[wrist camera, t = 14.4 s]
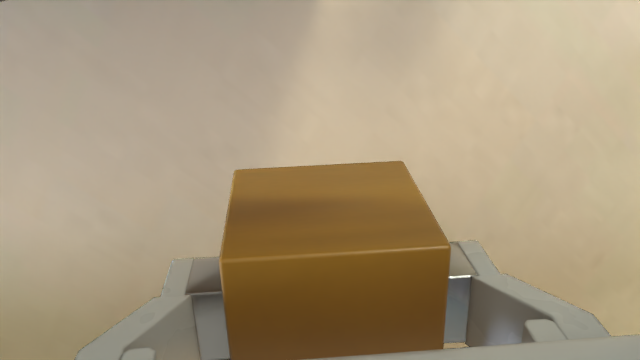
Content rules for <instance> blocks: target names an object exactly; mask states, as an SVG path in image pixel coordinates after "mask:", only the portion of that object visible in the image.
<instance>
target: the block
mask: <svg viewBox="0 0 640 360" xmlns="http://www.w3.org/2000/svg"><path fill="white" fill-rule="evenodd" d="M450 257H451V246H450V244H449V242H448V240H447V238H446V237H445V235H444V233H443V231H442V229H441V228H440V226H439V224H438V222H437V221H436V219H435V217H434V215H433V214H432V212H431V210H430V208H429V207H428V205H427V203H426V201H425V200H424V198H423V196H422V194H421V192H420V191H419V189H418V187H417V185H416V184H415V182H414V180H413V178H412V177H411V175H410V173H409V171H408V170H407V168H406V166H405V164H404V162H402V161H390V162H372V163H353V164H334V165H316V166H297V167H279V168H260V169H241V170H235V171H234V175H233V181H232V186H231V192H230V198H229V204H228V210H227V216H226V222H225V227H224V233H223V239H222V245H221V251H220V257H219V270H220V278H221V287H222V295H223V304H224V312H225V321H226V329H227V337H228V346H229V354H230V360H303V359H316V358H330V357H343V356H357V355H370V354H384V353H397V352H410V351H424V350H437V349H443V344H444V331H445V319H446V307H447V294H448V282H449V269H450Z"/></svg>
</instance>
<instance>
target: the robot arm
mask: <svg viewBox="0 0 640 360" xmlns="http://www.w3.org/2000/svg"><path fill="white" fill-rule="evenodd" d="M449 244H450V246H451V257H450V269H449V282H448V294H447V307H446V319H445V331H444V343H456V342H465V344H467V345H468V346H469V347H464V348H450V349H437V350H424V351H410V352H397V353H384V354H370V355H357V356H343V357H330V358H316V359H303V360H640V334H638V335H625V336H611V335H610V334H609V333H608V332H607V330H606V329H605V328H604V327H603V326H602V324H601V323H600V322H599V321H598V320H597V318H596V317H595V316H594V315H593V314H591V313H589V312H587V311H585V310H583V309H581V308H578V307H576V306H574V305H572V304H570V303H568V302H566V301H563V300H561V299H559V298H557V297H555V296H553V295H551V294H548V293H546V292H544V291H542V290H540V289H538V288H536V287H533V286H531V285H529V284H527V283H525V282H523V281H521V280H518V279H516V278H514V277H512V276H510V275H508V274H500V273H499V271H498V270H497V268H496V267H495V265H494V264H493V262H492V261H491V260H490V258H489V257H488V255H487V254H486V252H485V251H484V249H483V248H482V246H481V245H480V244H479V242H478V241H476V240H468V241H458V242H449ZM222 359H230V354H229V346H228V337H227V329H226V321H225V312H224V304H223V295H222V287H221V278H220V270H219V257H203V258H195V259H194V258H182V259H174V260H172V262H171V265H170V268H169V271H168V274H167V277H166V280H165V283H164V287H163V290H162V293H161V296H160V297H154V298H153V299H151V300H150V301H148V302H147V303H146V304H144V305H143V306H141V307H140V308H139V309H137V310H136V311H134V312H133V313H131V314H130V315H129V316H127V317H126V318H124V319H123V320H122V321H120V322H119V323H117V324H116V325H114V326H113V327H112V328H110V329H109V330H107V331H106V332H105V333H103V334H102V335H100V336H99V337H97V338H96V339H95V340H93V341H92V342H90V343H89V344H88V345H86V346H85V347H83V348H82V349H80V350H79V351H78V353H77V355H76V357H75V359H74V360H222Z"/></svg>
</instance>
